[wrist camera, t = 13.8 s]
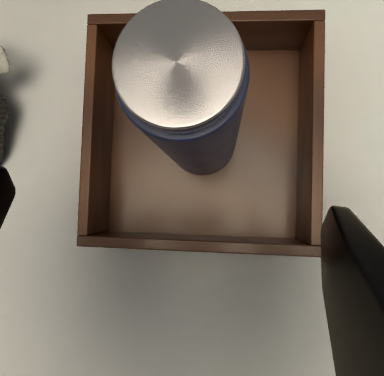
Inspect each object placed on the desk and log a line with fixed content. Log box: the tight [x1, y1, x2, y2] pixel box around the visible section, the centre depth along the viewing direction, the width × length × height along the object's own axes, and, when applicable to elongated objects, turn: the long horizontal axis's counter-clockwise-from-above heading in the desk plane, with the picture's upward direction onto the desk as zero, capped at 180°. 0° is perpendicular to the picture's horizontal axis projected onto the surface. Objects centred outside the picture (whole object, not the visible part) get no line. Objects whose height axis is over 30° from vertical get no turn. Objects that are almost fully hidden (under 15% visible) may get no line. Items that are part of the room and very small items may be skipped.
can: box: [112, 0, 250, 175], centre depth 16 cm, size 4×4×12 cm
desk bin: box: [77, 10, 325, 257], centre depth 20 cm, size 13×13×4 cm
